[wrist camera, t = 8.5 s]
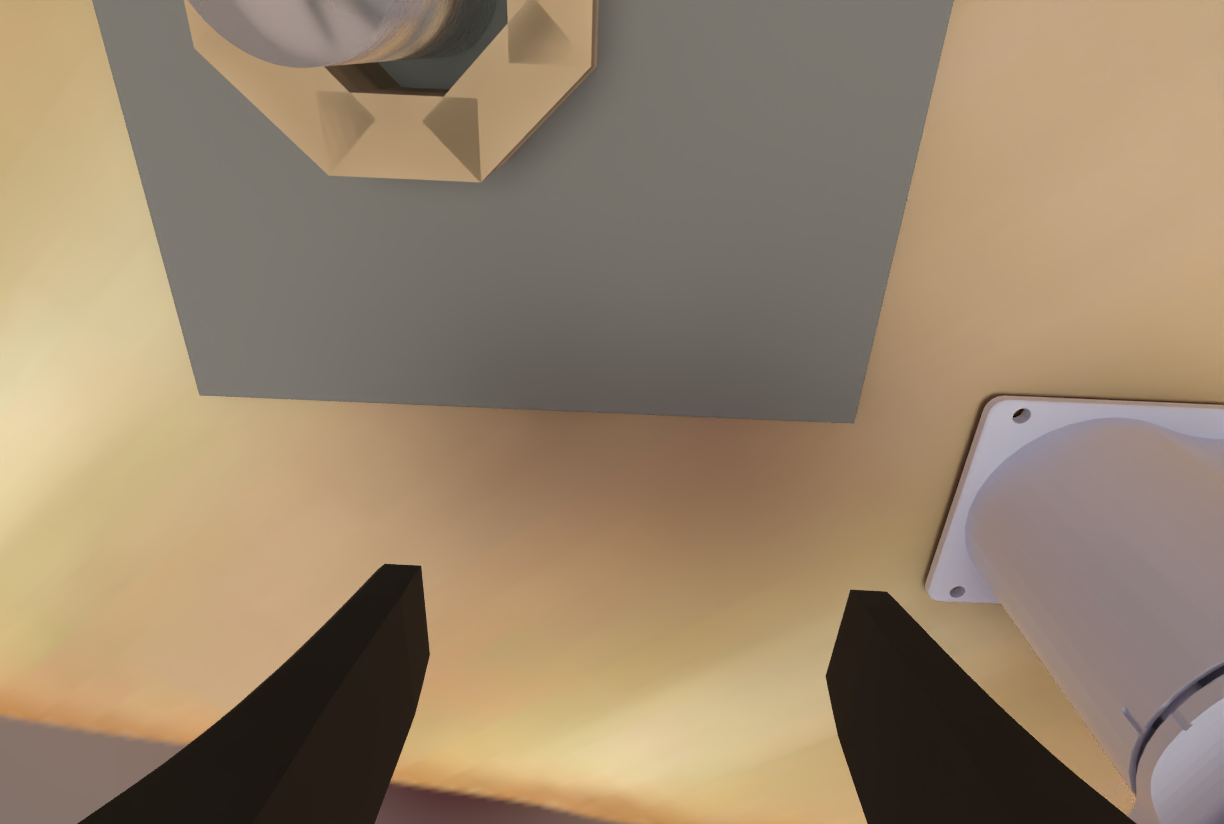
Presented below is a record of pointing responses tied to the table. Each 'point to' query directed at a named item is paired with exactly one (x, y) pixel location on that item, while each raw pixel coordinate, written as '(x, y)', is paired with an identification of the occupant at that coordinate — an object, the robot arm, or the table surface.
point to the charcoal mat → (557, 220)
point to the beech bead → (422, 98)
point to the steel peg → (347, 28)
